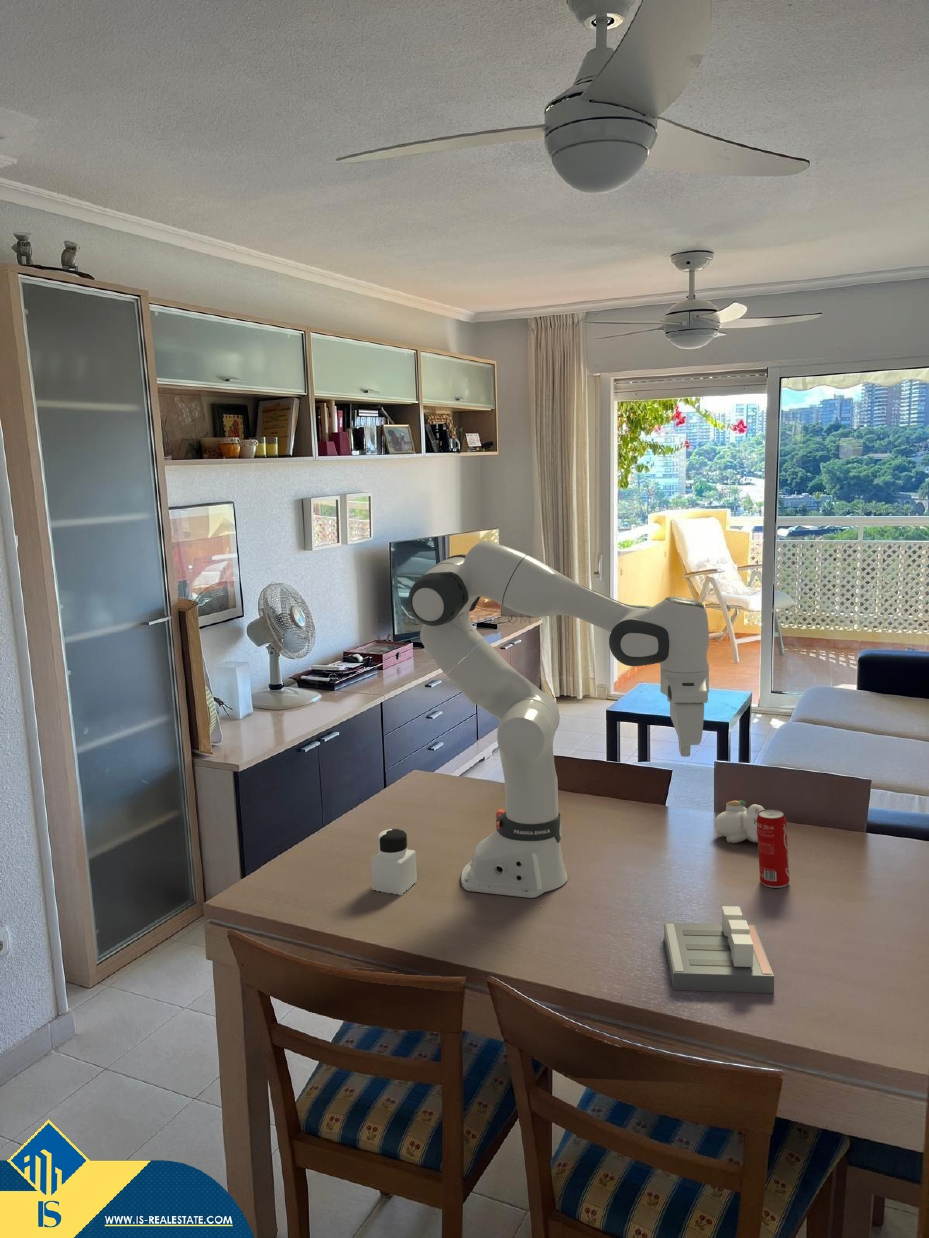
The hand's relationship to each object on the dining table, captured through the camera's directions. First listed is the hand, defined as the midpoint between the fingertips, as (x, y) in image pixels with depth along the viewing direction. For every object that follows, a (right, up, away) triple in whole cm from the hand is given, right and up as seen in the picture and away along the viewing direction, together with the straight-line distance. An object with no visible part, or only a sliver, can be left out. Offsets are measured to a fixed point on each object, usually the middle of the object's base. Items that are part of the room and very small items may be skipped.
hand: (684, 754), depth 173 cm
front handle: (+4, -31, -21) cm, 38 cm away
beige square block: (+5, -30, -17) cm, 35 cm away
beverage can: (+21, -29, +14) cm, 39 cm away
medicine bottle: (-56, -31, +19) cm, 67 cm away
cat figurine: (+23, -25, +36) cm, 50 cm away
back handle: (+6, -30, -12) cm, 32 cm away
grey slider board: (+2, -34, -16) cm, 37 cm away
